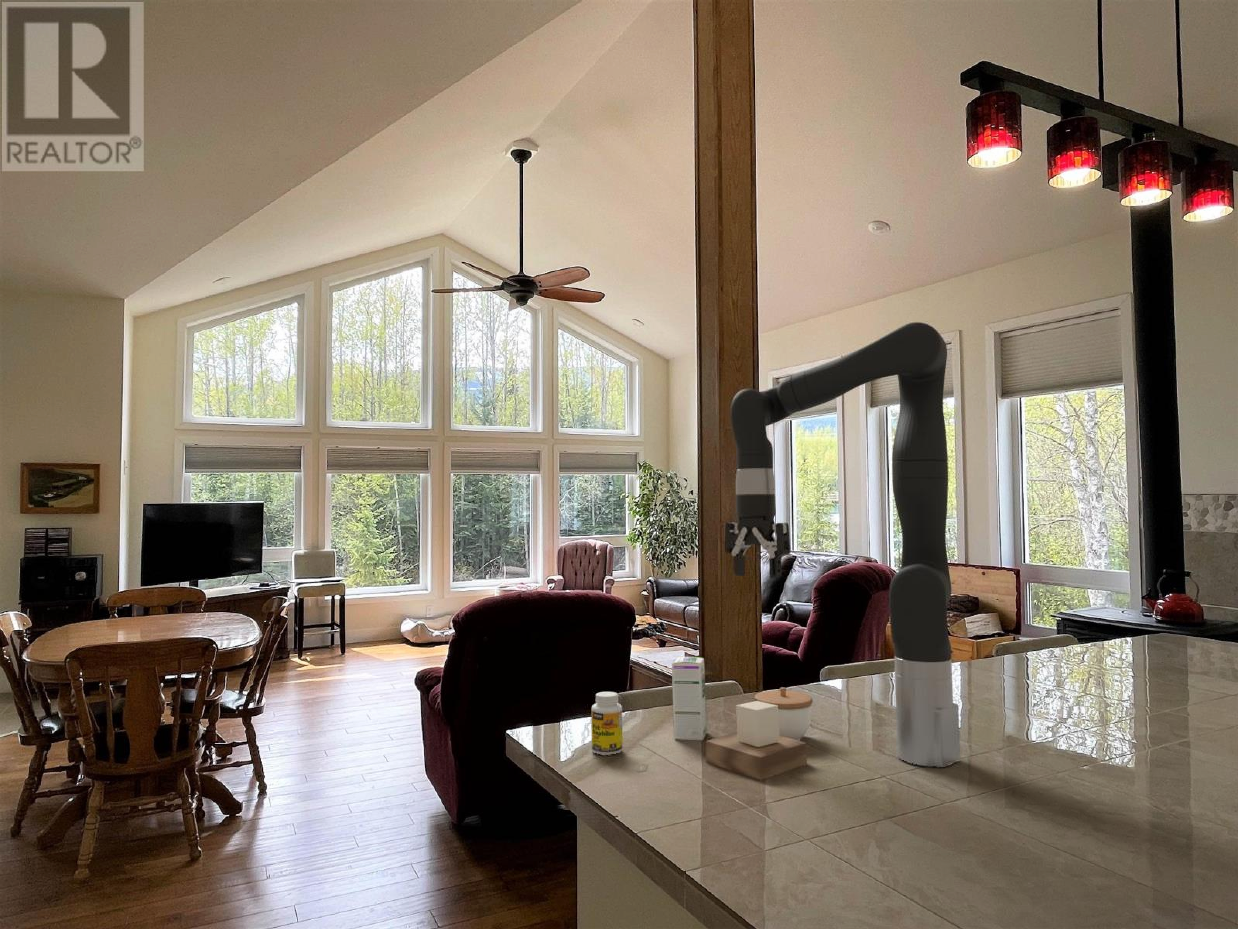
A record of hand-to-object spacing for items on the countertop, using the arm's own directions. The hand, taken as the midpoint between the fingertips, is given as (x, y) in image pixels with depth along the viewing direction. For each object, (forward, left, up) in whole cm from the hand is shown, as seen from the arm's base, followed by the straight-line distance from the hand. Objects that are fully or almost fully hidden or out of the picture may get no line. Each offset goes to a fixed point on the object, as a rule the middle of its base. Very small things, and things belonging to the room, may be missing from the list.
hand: (757, 576), depth 151 cm
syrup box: (+9, +10, -30) cm, 33 cm away
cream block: (-10, +13, -26) cm, 31 cm away
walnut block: (-10, +13, -31) cm, 35 cm away
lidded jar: (-4, -2, -30) cm, 31 cm away
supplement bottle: (+12, +28, -30) cm, 43 cm away
